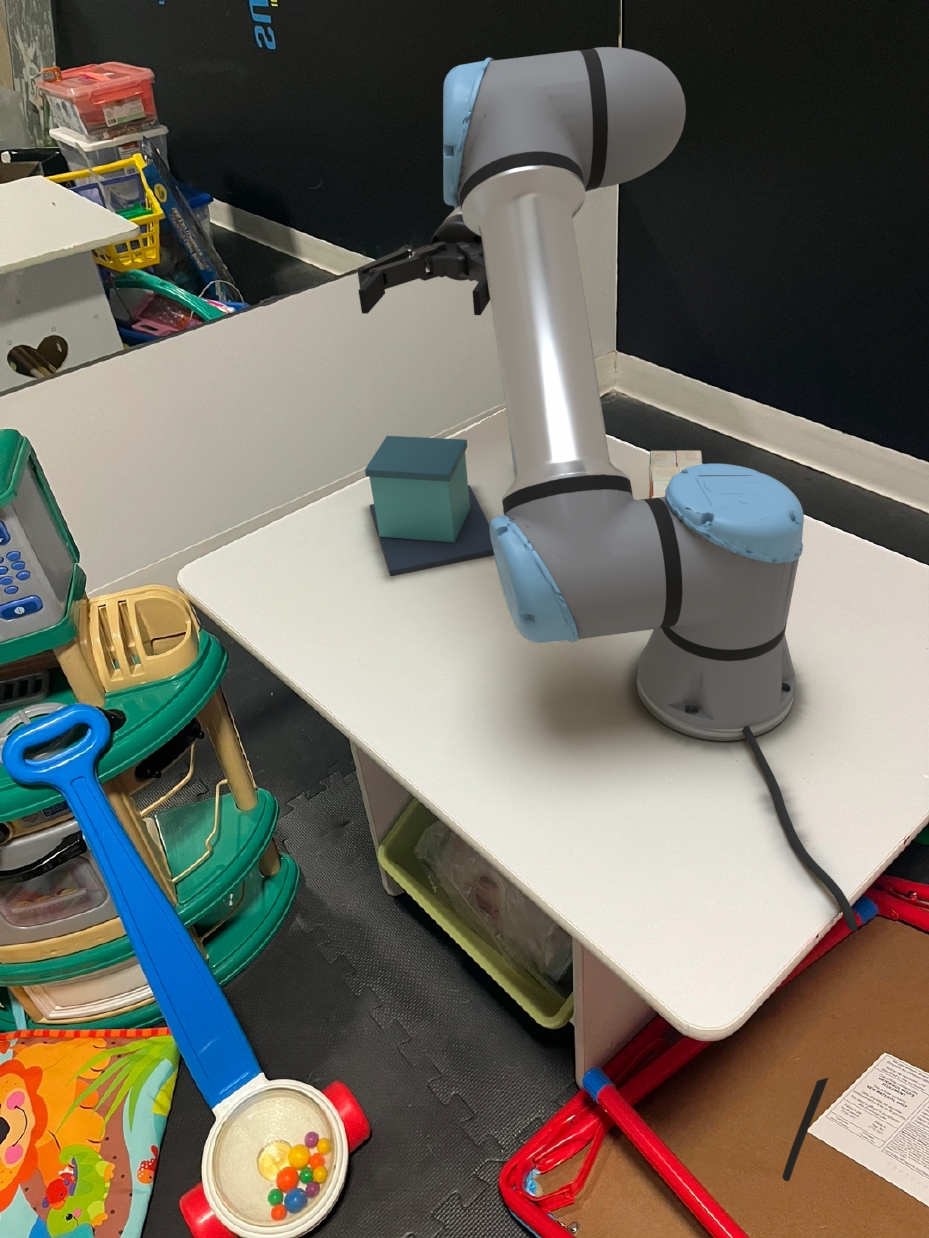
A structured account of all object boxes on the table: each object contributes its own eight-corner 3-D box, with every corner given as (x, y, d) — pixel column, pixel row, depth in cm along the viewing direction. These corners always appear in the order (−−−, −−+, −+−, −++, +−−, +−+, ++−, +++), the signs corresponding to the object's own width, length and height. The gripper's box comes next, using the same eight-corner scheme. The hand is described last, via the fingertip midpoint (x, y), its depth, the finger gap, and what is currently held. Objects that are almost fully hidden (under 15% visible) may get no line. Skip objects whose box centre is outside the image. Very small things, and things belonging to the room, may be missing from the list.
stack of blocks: (646, 513, 117) (651, 427, 110) (696, 514, 116) (705, 427, 109) (645, 619, 101) (650, 526, 94) (703, 621, 100) (713, 527, 92)
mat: (501, 553, 113) (500, 547, 113) (390, 576, 112) (389, 570, 111) (470, 489, 126) (469, 484, 125) (370, 509, 124) (369, 504, 123)
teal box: (396, 502, 123) (386, 435, 117) (473, 507, 120) (467, 439, 114) (376, 538, 117) (364, 469, 110) (456, 544, 114) (448, 474, 108)
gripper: (559, 272, 120) (527, 336, 104) (379, 271, 126) (323, 332, 110) (558, 211, 115) (524, 269, 99) (371, 214, 121) (311, 269, 105)
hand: (418, 303), depth 105 cm, fingers open, 13 cm apart
